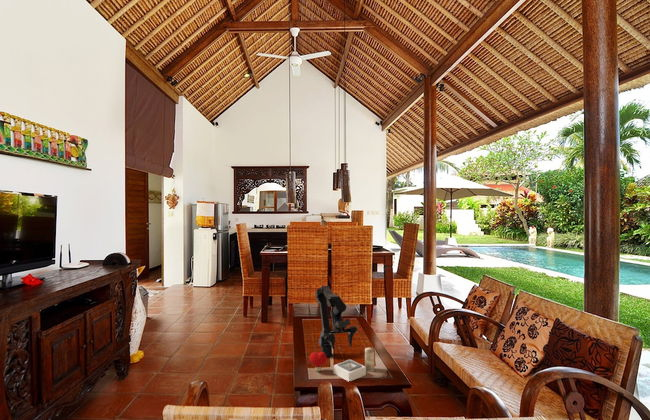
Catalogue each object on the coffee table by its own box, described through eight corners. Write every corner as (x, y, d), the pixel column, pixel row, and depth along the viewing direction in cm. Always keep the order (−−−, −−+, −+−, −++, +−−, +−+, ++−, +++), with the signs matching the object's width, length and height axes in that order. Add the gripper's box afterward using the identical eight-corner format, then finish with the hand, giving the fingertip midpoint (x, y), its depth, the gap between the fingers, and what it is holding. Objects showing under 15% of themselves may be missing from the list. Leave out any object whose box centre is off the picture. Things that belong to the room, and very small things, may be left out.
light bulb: (326, 368, 184) (326, 349, 184) (327, 374, 177) (327, 354, 177) (309, 368, 183) (309, 350, 184) (309, 374, 176) (309, 355, 177)
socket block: (333, 373, 178) (333, 364, 178) (350, 367, 185) (350, 358, 185) (348, 381, 168) (348, 372, 168) (365, 374, 176) (365, 365, 176)
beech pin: (363, 369, 182) (363, 349, 183) (369, 367, 185) (369, 346, 186) (369, 372, 178) (369, 351, 179) (376, 370, 181) (376, 349, 182)
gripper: (324, 314, 174) (328, 346, 165) (357, 312, 179) (364, 342, 170) (319, 321, 182) (323, 351, 173) (351, 319, 187) (357, 348, 179)
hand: (342, 348), depth 174 cm, fingers open, 9 cm apart
